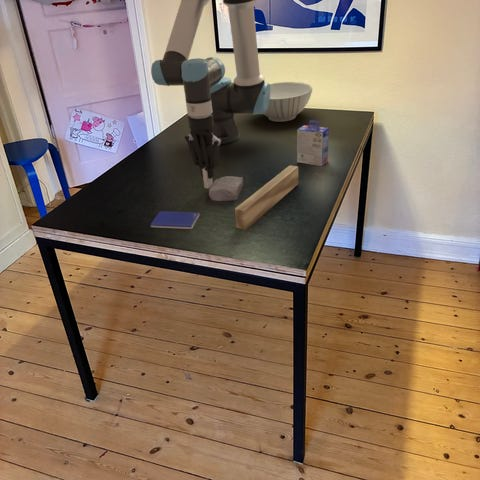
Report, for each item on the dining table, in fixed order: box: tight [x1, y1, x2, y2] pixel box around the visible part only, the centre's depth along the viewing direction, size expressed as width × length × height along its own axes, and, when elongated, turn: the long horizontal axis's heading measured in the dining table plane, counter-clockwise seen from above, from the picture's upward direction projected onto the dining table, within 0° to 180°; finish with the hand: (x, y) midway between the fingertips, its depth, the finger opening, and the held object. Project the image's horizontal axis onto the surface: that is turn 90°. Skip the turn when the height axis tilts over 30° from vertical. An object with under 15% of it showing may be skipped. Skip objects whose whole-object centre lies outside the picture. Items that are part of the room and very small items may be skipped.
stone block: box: [208, 175, 244, 202], centre depth 153 cm, size 12×5×10 cm
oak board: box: [234, 164, 299, 231], centre depth 142 cm, size 3×32×6 cm, turn 147°
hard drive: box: [150, 210, 201, 230], centre depth 140 cm, size 2×8×12 cm
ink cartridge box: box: [296, 119, 330, 167], centre depth 165 cm, size 10×6×14 cm, turn 58°
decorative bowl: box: [262, 81, 313, 122], centre depth 209 cm, size 27×27×12 cm
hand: (208, 186), depth 154 cm, fingers closed
